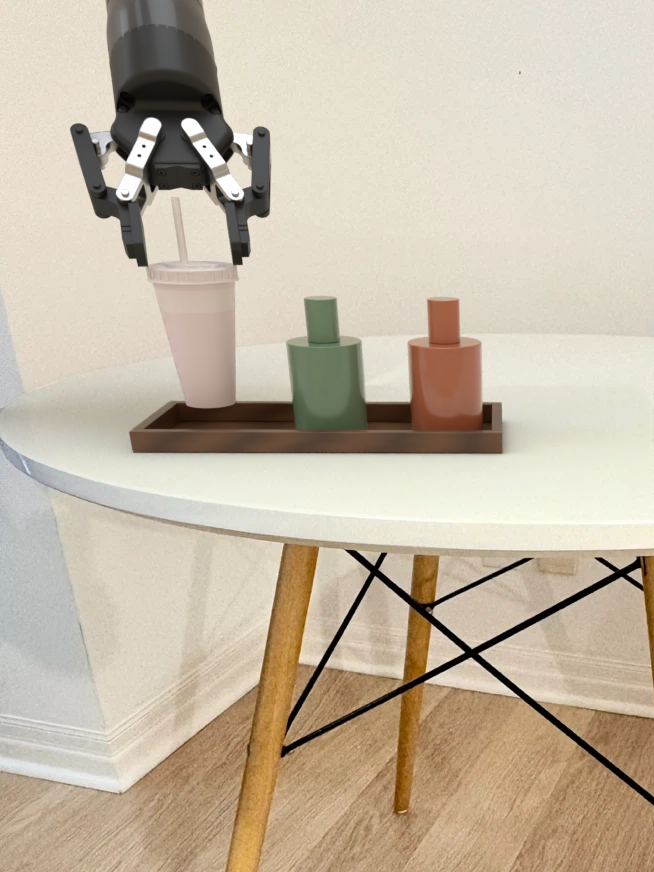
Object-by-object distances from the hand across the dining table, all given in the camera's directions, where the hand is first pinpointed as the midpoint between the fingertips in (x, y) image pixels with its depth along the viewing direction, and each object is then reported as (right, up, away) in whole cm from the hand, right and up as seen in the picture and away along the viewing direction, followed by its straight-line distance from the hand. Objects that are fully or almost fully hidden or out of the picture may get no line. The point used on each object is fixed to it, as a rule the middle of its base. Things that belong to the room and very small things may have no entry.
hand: (190, 257), depth 70 cm
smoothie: (-1, -8, +7) cm, 11 cm away
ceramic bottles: (+13, -10, +8) cm, 18 cm away
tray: (+8, -11, +8) cm, 16 cm away
